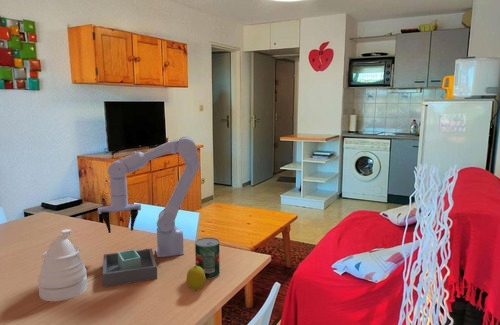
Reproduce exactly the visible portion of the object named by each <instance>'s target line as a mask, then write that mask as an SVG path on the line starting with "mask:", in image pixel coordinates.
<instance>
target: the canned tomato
mask: <svg viewBox="0 0 500 325" xmlns="http://www.w3.org/2000/svg"><path fill="white" fill-rule="evenodd" d="M194 244H195V245H194V246H195V247H194V248H195V249H194V250H195V257H194V258H195V265H197V266H199V267H201V268H202V269H203V270H204V273H205V280H211V279H214V278H217V277H219V276H220V273H221V272H220V267H221V266H220V240H219V239H218V238H214V237H202V238H198V239H197V240H195V243H194Z"/></svg>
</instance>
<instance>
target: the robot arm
mask: <svg viewBox="0 0 500 325" xmlns="http://www.w3.org/2000/svg"><path fill="white" fill-rule="evenodd" d="M177 153H178V155H179V156H180V157H181V158H182V159H183V161H184V164H185V167H184V169H183V171H182V173H181V175H180V177H179V179H178V181H177V183H176V185H175V188H174V190H173V192H172V193H171V196H170V198H169V200H168V202H167V203H166V205H165V208H163V210H161V211H160V212H159V214H158V217H157V218H158V219H157V222H156V227H157V228H156V244H157V246H156V247H157V248H155V252H156V253H155V254H156V255H157V256H156V258H167V257H173V256H181V255H184V254H185V253H184V251H185V250H184V233H183V229H182V228H181V227H179V228H177V226H176V223H175V222H176V218H177V216H178V213H179V209H180V208H181V206H182V203H183V202H184V200H185V199H186V198H185V197H186V195H187V194H188V191H189V189H190V188H191V185H192V183H193V181H194V179H195V177H196V175H197V172H198V171H199V168H200V166H201V165H200V160H199V153H198V148H197V146H196V144H195V142H194V140H193V139H192V138H191V137H189V136H182V137H180V138H176V139H173V140H169V141H166V142H165V143H163V144H160V145H159V146H156V147H153V148H151V149H149V150H148V151H146V152H142V151H136V150H135V151H134V150H133V151H132V152H131V154H129V155H127V156H125V157H119V158H118V159H119V160H115V161H113V162H112V163H110V165H108V167H107V173H108V175H109V181H110V182H109V190H110V205H107V206H102V207H101V206H100V207H97V214H98V215H101V218H102V221H104V223H105V225H106V229H107V231H108V232H107V233H108V234H111V231H112V230H111V229H112V228H111V222H110V221H111V220H110V213H119V212H121V213H122V212H128V211H129V212H130V231H134V225H135V222H136V220H137V216H138V215H139V211H142V205H141V203H135V204H134V203H129V201H128V200H129V199H128V181H127V174H130V173H132V172H135V171H137V170H140V169H142V168H144V167H147V164H148V162H149V161H151V160H154V159H156V158H160V157H162V156H164V155H166V154H172V155H177Z"/></svg>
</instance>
